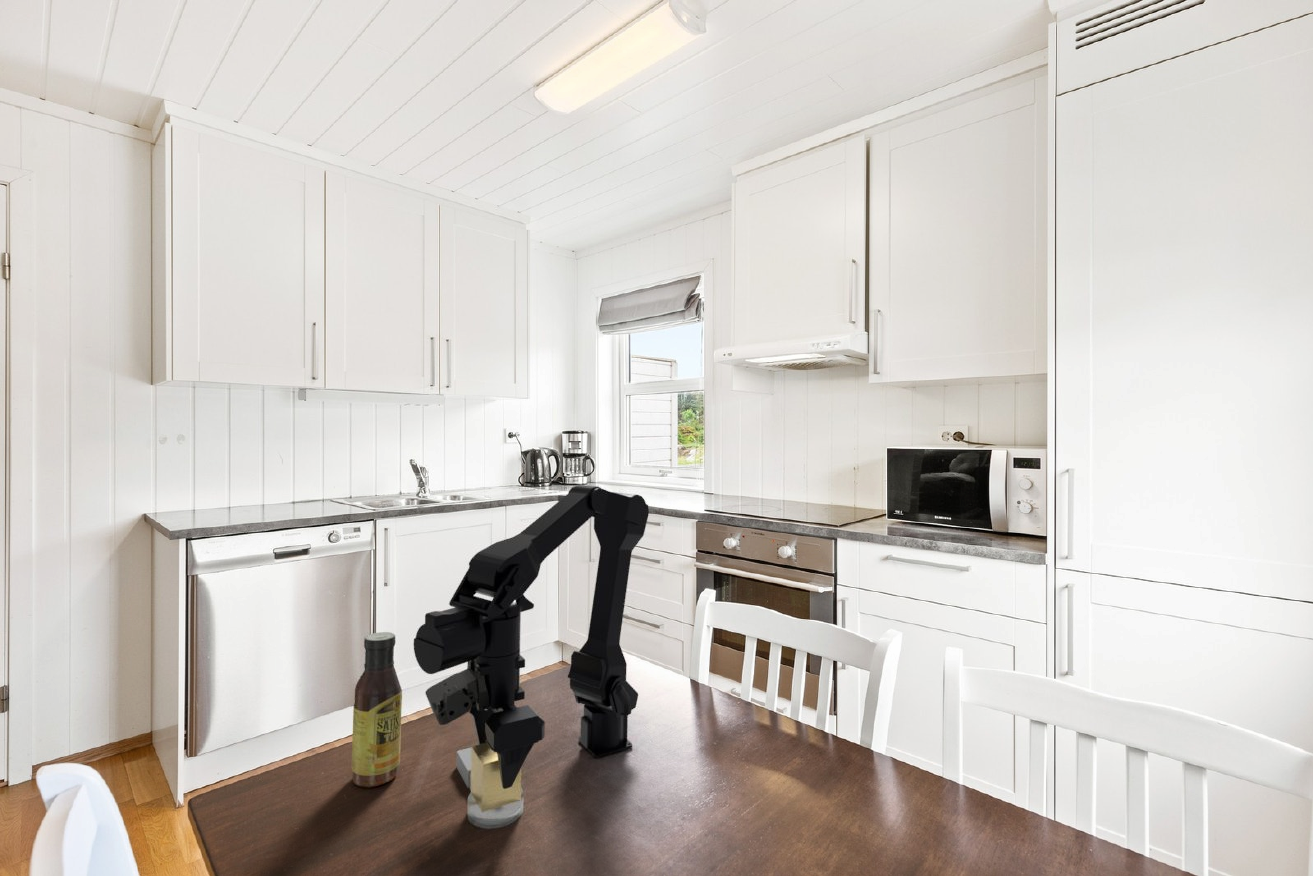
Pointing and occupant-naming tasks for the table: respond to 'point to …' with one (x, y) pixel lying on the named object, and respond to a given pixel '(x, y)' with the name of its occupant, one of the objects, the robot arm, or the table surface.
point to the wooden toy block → (490, 780)
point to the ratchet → (475, 815)
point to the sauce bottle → (377, 715)
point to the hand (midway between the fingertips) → (495, 769)
